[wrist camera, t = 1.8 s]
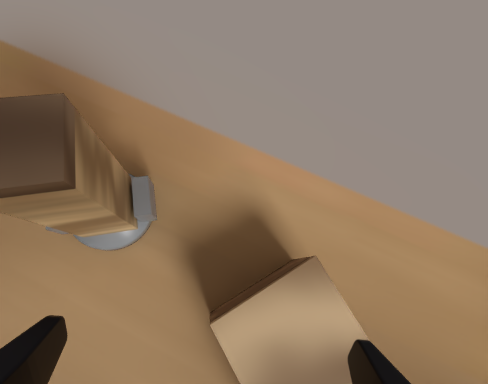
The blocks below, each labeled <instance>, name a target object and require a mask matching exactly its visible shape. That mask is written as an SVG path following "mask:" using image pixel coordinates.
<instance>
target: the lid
mask: <svg viewBox="0 0 488 384" xmlns="http://www.w3.org/2000/svg"><path fill="white" fill-rule="evenodd" d="M210 326H211V328H212V330H213V332H214V334H215V336H216V338H217V340H218V341H219V343H220V345H221V347H222V349H223V351H224V353H225V355H226V357H227V359H228V361H229V363H230V365H231V367H232V369H233V371H234V372H235V374H236V376H237V378H238V380H239V382H240V384H352V381H351V376H350V371H349V366H348V360H347V359H348V354H349V352H350V350H351V347H352V345H353V343H354V341H355V340H357V339H362V340H368V341H370V340H369V339H368V337H367V336H366V334H365V332H364V331H363V329H362V328H361V326H360V324H359V323H358V321H357V320H356V318H355V317H354V315H353V313H352V312H351V310H350V309H349V307H348V305H347V304H346V302H345V301H344V299H343V298H342V296H341V294H340V293H339V291H338V290H337V288H336V286H335V285H334V283H333V282H332V280H331V279H330V277H329V275H328V274H327V272H326V271H325V269H324V267H323V266H322V264H321V263H320V261H319V260H318V258H317V256H311V257H310V258H308V259H307V260H305V261H304V262H302V263H301V264H299V265H298V266H296V267H295V268H293V269H292V270H290V271H288V272H287V273H285V274H284V275H282V276H281V277H279V278H278V279H276V280H275V281H273V282H272V283H270V284H269V285H267V286H266V287H264V288H262V289H261V290H259V291H258V292H256V293H255V294H253V295H252V296H250V297H249V298H247V299H246V300H244V301H243V302H241V303H240V304H238V305H237V306H235V307H233V308H232V309H230V310H229V311H227V312H226V313H224V314H223V315H221V316H220V317H218V318H217V319H215V320H214V321H212V322H211V323H210Z"/></svg>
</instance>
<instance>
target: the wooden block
mask: <svg viewBox="0 0 488 384" xmlns="http://www.w3.org/2000/svg"><path fill="white" fill-rule="evenodd" d="M0 213H4V214H7V215H10V216H14V217H17V218H20V219H24V220H27V221H30V222H34V223H37V224H40V225H44V226H47V227H50V228H54V229H57V230H60V231H64V232H67V233H70V234H74V235H77V236H80V237H90V236H97V235H103V234H110V233H116V232H123V231H129V230H136V229H138V222H137V218H135V217H134V207H133V193H132V180H131V177H130V176H129V174H128V173H127V172H126V171H125V169H124V168H123V167H122V166H121V164H120V163H119V162H118V161H117V159H116V158H115V157H114V156H113V154H112V153H111V152H110V151H109V149H108V148H107V147H106V146H105V144H104V143H103V142H102V141H101V139H100V138H99V137H98V136H97V135H96V133H95V132H94V131H93V130H92V128H91V127H90V126H89V125H88V123H87V122H86V121H85V120H84V118H83V117H82V116H81V115H80V113H79V112H78V111H77V110H76V108H75V107H74V106H73V105H72V103H71V102H70V101H69V100H68V98H67V97H66V96H65V95H64V93H62V94H48V95H34V96H20V97H6V98H0Z"/></svg>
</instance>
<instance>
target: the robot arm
mask: <svg viewBox="0 0 488 384" xmlns="http://www.w3.org/2000/svg"><path fill="white" fill-rule="evenodd" d="M66 341H67V329H66V324H65V319H64V317H63V316H54V315H49V316H47V317H45V318H43V319H42V320H40V321H39V322H38V323H36V324H35V325H33V326H32V327H30V328H29V329H28V330H26V331H25V332H23V333H22V334H21V335H19V336H18V337H16V338H15V339H14V340H12V341H11V342H9V343H8V344H6V345H5V346H4V347H2V348H1V349H0V384H48V382H49V380H50V377H51V375H52V373H53V371H54V368H55V366H56V364H57V362H58V359H59V357H60V355H61V353H62V350H63V348H64V346H65V344H66ZM347 360H348V366H349V371H350V376H351V381H352V384H411V383H410V382H409V381H408V380H407V379H406V378H405V377H404V376H403V375H402V374H401V373H400V372H399V371H398V370H397V369H396V368H395V367H394V366H393V365H392V363H391V362H390V361H389V360H388V359H387V358H386V357H385V356H384V355H383V354H382V353H381V352H380V351H379V350H378V349H377V348H376V347H375V346H374V345H373V344H372V343H371V342H370V341H368V340H362V339H357V340H355V341H354V343H353V345H352V347H351V350H350V352H349V354H348V359H347Z"/></svg>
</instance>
